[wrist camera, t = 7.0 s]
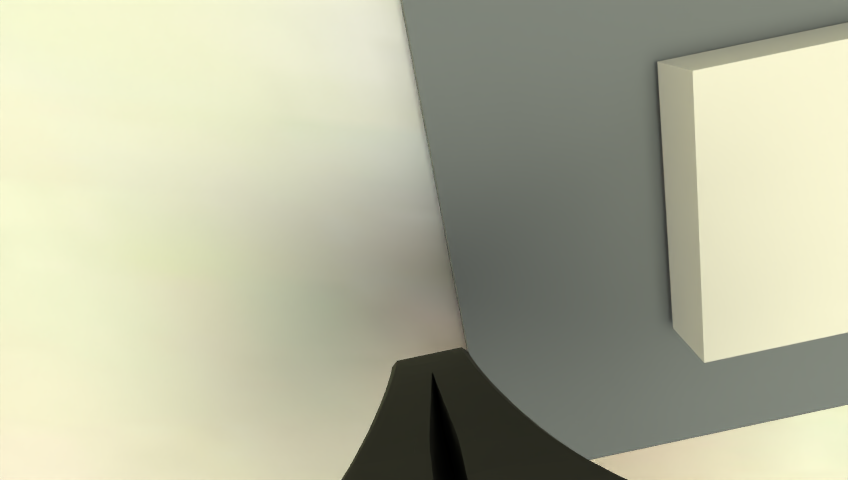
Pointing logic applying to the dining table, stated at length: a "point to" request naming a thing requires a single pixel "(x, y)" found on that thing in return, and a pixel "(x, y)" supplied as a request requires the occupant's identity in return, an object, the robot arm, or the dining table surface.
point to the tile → (757, 192)
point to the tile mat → (590, 214)
